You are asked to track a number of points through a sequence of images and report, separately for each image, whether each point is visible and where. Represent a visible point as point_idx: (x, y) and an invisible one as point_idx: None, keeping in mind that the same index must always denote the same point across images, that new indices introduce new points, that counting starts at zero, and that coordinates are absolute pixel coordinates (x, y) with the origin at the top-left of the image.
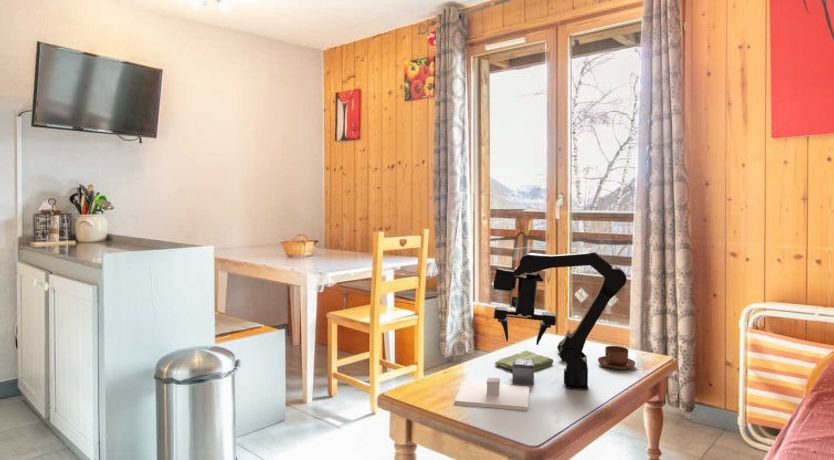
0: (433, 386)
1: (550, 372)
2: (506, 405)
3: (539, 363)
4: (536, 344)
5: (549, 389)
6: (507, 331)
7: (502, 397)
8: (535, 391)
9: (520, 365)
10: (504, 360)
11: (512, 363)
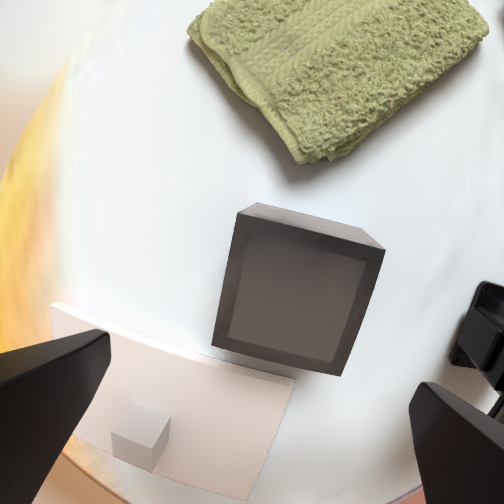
0: (4, 303)
1: (459, 142)
2: (190, 484)
3: (427, 79)
4: (409, 410)
5: (381, 371)
6: (50, 463)
7: (179, 451)
8: (316, 390)
9: (260, 356)
10: (228, 28)
11: (268, 71)
